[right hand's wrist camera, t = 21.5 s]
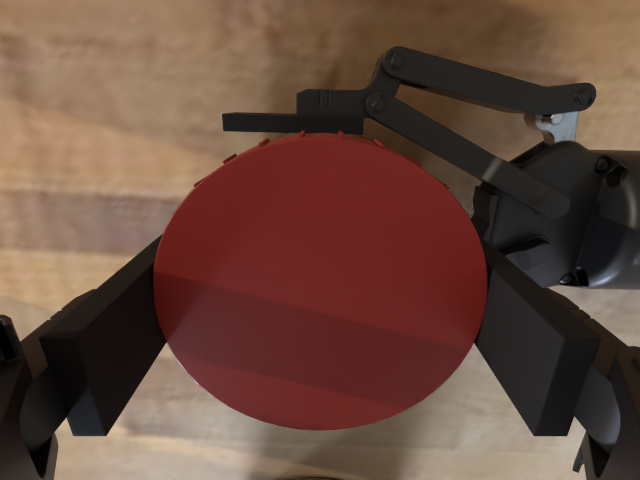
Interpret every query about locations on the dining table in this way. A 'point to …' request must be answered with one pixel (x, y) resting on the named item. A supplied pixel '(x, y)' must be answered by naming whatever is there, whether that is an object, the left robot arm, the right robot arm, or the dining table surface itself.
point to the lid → (320, 282)
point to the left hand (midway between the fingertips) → (236, 212)
